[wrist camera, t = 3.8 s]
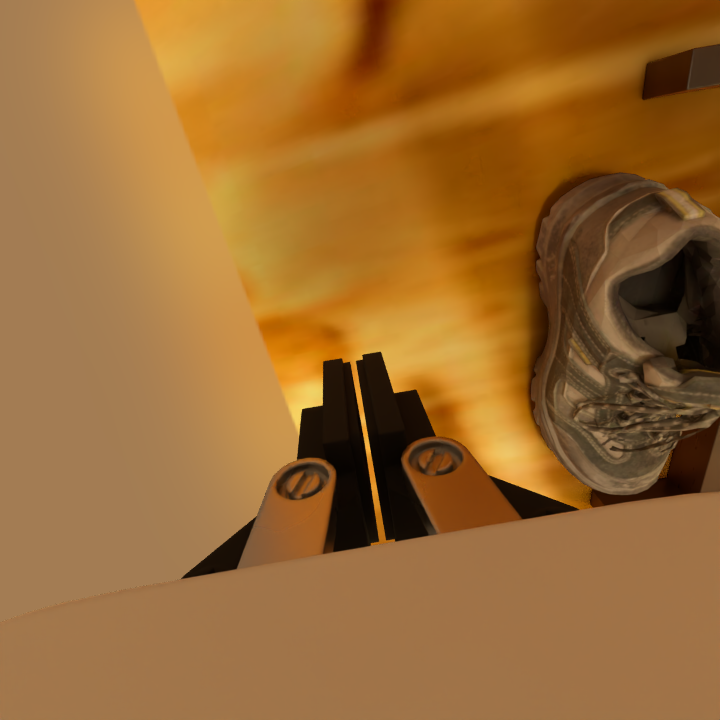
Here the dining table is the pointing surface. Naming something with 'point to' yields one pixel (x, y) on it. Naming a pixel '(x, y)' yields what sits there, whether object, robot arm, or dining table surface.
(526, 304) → the dining table surface
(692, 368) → the hiking shoe
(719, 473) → the bracket
